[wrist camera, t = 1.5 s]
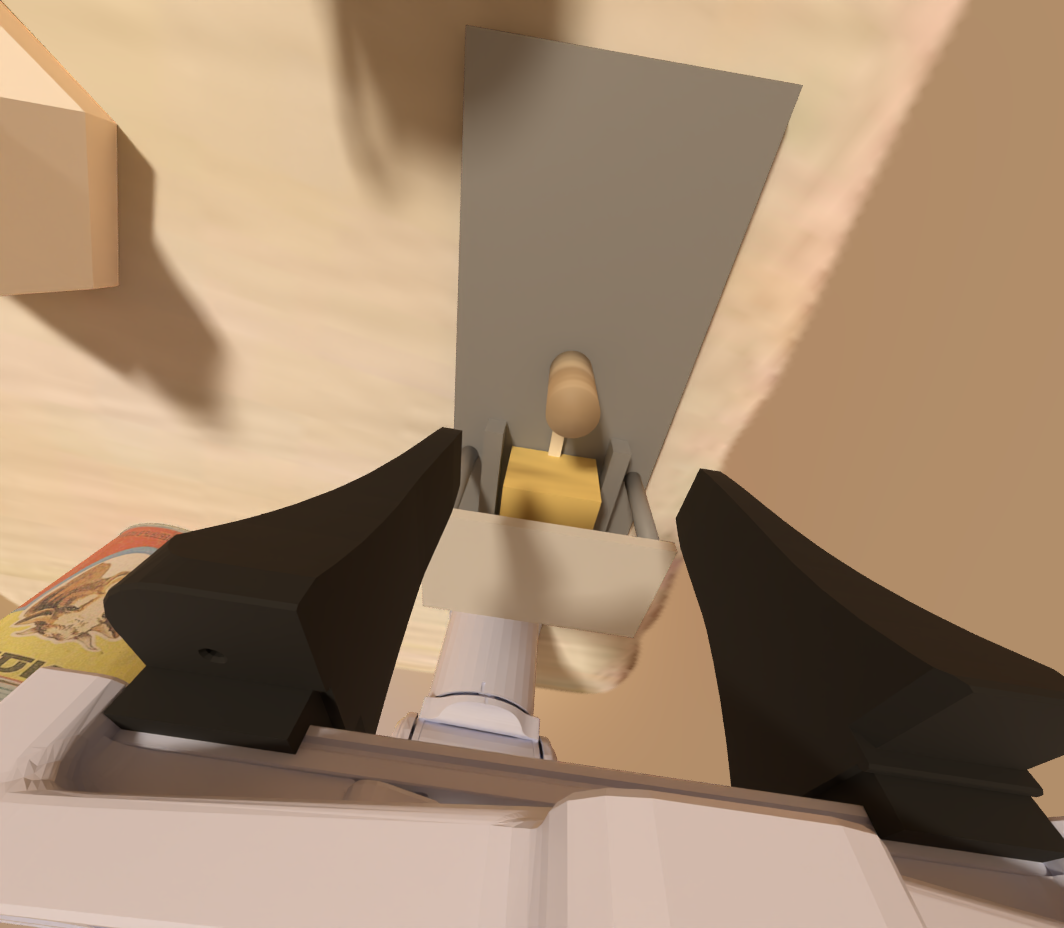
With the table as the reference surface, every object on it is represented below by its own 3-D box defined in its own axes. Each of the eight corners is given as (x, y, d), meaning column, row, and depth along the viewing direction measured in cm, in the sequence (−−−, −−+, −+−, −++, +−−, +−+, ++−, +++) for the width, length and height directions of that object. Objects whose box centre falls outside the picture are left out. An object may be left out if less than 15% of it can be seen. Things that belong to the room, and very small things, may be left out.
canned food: (251, 546, 30) (97, 707, 20) (261, 623, 36) (147, 776, 26) (100, 506, 29) (-143, 657, 19) (137, 593, 35) (-32, 742, 25)
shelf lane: (618, 544, 27) (633, 637, 21) (454, 518, 27) (422, 606, 21) (788, 93, 14) (961, -4, 8) (471, 36, 14) (398, -107, 8)
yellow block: (575, 532, 25) (577, 595, 21) (502, 521, 25) (489, 582, 21) (624, 358, 19) (641, 399, 15) (525, 342, 19) (514, 378, 14)
